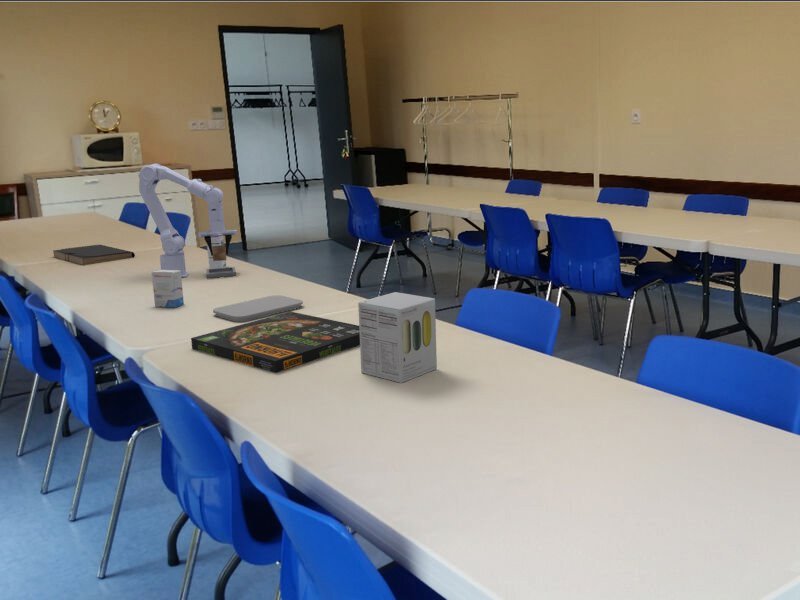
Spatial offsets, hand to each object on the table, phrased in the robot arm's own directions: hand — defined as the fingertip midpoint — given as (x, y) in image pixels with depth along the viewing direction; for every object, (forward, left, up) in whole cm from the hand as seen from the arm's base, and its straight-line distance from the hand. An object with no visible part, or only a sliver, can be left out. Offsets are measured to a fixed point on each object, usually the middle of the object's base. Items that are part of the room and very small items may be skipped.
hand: (219, 254), depth 316 cm
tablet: (+10, -66, -9) cm, 67 cm away
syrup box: (-1, +15, -8) cm, 17 cm away
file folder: (-55, +67, -9) cm, 87 cm away
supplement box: (+38, -140, -8) cm, 145 cm away
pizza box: (+14, -107, -9) cm, 108 cm away
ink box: (-18, -47, -8) cm, 51 cm away
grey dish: (0, 0, -8) cm, 8 cm away
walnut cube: (0, 0, -2) cm, 2 cm away
